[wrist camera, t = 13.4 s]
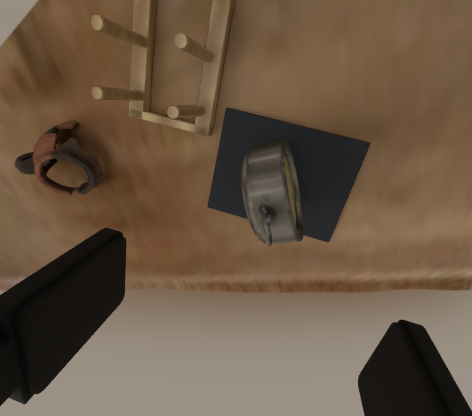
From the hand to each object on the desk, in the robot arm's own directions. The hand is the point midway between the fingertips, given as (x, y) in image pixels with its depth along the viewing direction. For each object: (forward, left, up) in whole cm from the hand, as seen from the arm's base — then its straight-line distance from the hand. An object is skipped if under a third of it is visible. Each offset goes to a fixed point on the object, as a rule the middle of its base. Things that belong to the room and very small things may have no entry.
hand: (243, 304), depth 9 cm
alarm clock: (0, +3, -27) cm, 27 cm away
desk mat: (-1, +2, -27) cm, 27 cm away
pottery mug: (+30, +7, -28) cm, 42 cm away
